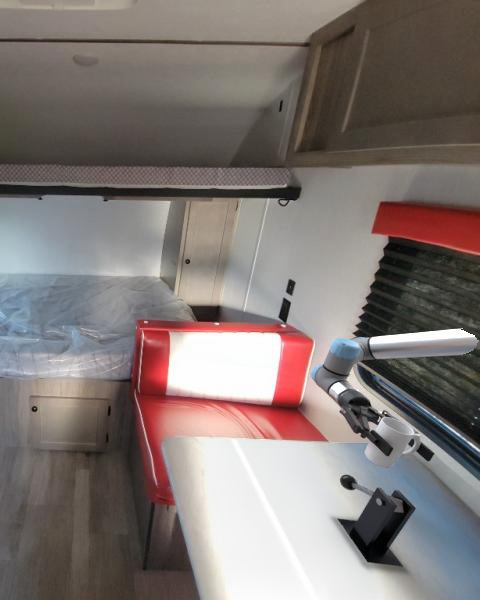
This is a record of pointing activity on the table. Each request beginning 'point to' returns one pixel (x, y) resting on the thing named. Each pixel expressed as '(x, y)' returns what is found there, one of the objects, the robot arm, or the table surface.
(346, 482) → the lever
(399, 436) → the mug
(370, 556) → the bracket
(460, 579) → the table surface
